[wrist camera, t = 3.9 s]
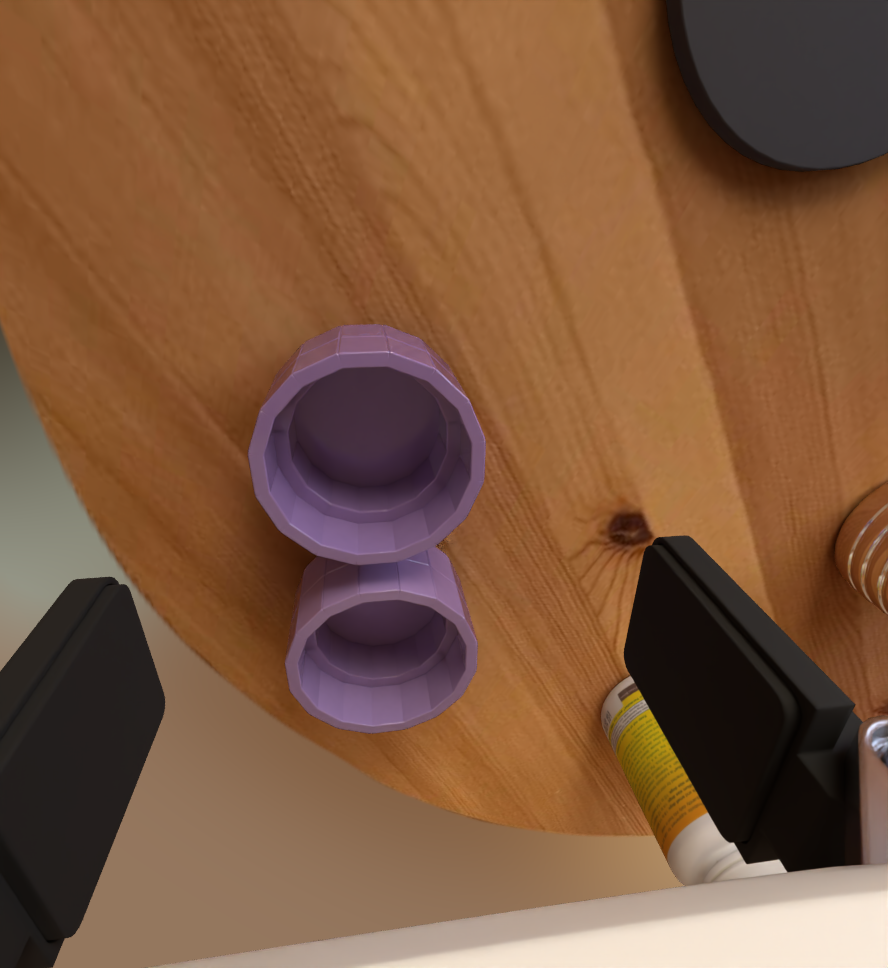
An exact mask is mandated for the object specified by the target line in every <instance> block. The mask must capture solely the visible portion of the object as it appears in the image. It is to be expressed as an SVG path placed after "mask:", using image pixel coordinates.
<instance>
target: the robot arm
mask: <svg viewBox="0 0 888 968" xmlns="http://www.w3.org/2000/svg"><path fill="white" fill-rule="evenodd" d="M624 660H625V664H626V667H627V670H628V672H629V673H630V675H631V677H632V679H633V681H634V682H635V684H636V686H637V688H638V689H639V691H640V693H641V695H642V697H643V698H644V700H645V702H646V704H647V705H648V707H649V709H650V711H651V712H652V714H653V716H654V718H655V720H656V721H657V723H658V725H659V727H660V728H661V730H662V732H663V734H664V735H665V737H666V739H667V741H668V743H669V744H670V746H671V748H672V750H673V751H674V753H675V755H676V757H677V759H678V760H679V762H680V764H681V766H682V767H683V769H684V771H685V773H686V774H687V776H688V778H689V780H690V782H691V783H692V785H693V787H694V789H695V790H696V792H697V794H698V796H699V797H700V799H701V801H702V803H703V805H704V806H705V808H706V810H707V812H708V813H709V815H710V817H711V819H712V821H713V822H714V824H715V826H716V828H717V829H718V831H719V833H720V834H721V836H722V837H723V838H724V839H725V840H726V841H727V842H729V843H734V844H735V846H736V847H737V849H738V851H739V853H740V854H741V856H742V858H743V860H744V861H745V863H746V864H753V863H760V862H766V861H773V860H778V859H779V860H780V862H781V863H782V865H783V866H784V868H785V870H786V871H787V873H779V874H771V875H763V876H755V877H747V878H739V879H730V880H723V881H716V882H709V883H702V884H696V885H689V886H682V887H675V888H669V889H661V890H654V891H647V892H640V893H634V894H627V895H620V896H613V897H606V898H599V899H592V900H586V901H578V902H572V903H565V904H558V905H551V906H545V907H538V908H531V909H525V910H518V911H511V912H505V913H498V914H491V915H484V916H478V917H471V918H464V919H458V920H451V921H444V922H438V923H431V924H425V925H418V926H411V927H405V928H398V929H392V930H385V931H379V932H372V933H366V934H359V935H353V936H346V937H339V938H332V939H326V940H320V941H313V942H307V943H300V944H294V945H287V946H281V947H275V948H268V949H262V950H255V951H249V952H243V953H236V954H230V955H223V956H217V957H211V958H205V959H199V960H192V961H185V962H179V963H173V964H166V965H160V966H153V967H147V968H888V716H877V717H872V718H868V719H867V720H866V721H865V722H862V721H861V720H860V719H859V718H858V717H857V716H856V714H855V713H854V712H853V709H854V707H855V704H854V703H853V702H852V701H851V700H850V699H849V698H848V697H847V696H846V695H845V694H844V693H843V691H842V690H841V689H840V688H839V687H838V686H837V685H836V684H835V683H834V682H833V681H832V680H831V679H830V678H829V677H828V676H827V675H826V674H825V673H824V672H823V671H822V670H821V669H820V668H819V667H818V666H817V665H816V664H815V663H814V662H813V661H812V660H811V659H810V658H809V657H808V656H807V655H806V654H805V653H804V652H803V651H802V650H801V649H800V648H799V647H798V646H797V645H796V644H795V643H794V642H793V641H792V640H791V639H790V637H789V636H788V635H787V634H786V633H785V632H784V631H783V630H782V629H781V628H780V627H779V626H778V625H777V624H776V623H775V622H774V621H773V620H772V619H771V618H770V617H769V616H768V615H767V614H766V613H765V612H764V611H763V610H762V609H761V608H760V607H759V606H758V605H757V604H756V603H755V602H754V601H753V600H752V599H751V598H750V597H749V596H748V595H747V594H746V593H745V592H744V591H743V590H742V589H741V588H740V587H739V586H738V585H737V584H736V582H735V581H734V580H733V579H732V578H731V577H730V576H729V575H728V574H727V573H726V572H725V571H724V570H723V569H722V568H721V567H720V566H719V565H718V564H717V563H716V562H715V561H714V560H713V559H712V558H711V557H710V556H709V555H708V554H707V553H706V552H705V551H704V550H703V549H702V548H701V547H700V546H699V545H698V544H697V543H696V542H695V541H694V540H693V539H692V538H691V537H689V536H671V537H659V538H656V539H655V540H654V542H653V544H652V545H651V546H648V547H647V548H646V549H645V551H644V555H643V560H642V565H641V570H640V575H639V580H638V585H637V589H636V594H635V599H634V604H633V609H632V614H631V619H630V623H629V628H628V633H627V638H626V643H625V648H624ZM164 709H165V696H164V692H163V689H162V686H161V683H160V680H159V678H158V675H157V671H156V668H155V665H154V662H153V659H152V656H151V653H150V650H149V647H148V644H147V641H146V638H145V635H144V632H143V628H142V625H141V622H140V619H139V616H138V614H137V610H136V607H135V604H134V601H133V598H132V595H131V592H130V590H129V588H128V587H127V585H124V584H121V585H119V583H118V581H117V580H116V579H115V578H113V577H100V578H87V579H76V580H73V581H72V582H71V583H70V584H68V586H67V587H66V588H65V590H64V591H63V592H62V593H61V595H60V596H59V597H58V598H57V600H56V601H55V602H54V604H53V605H52V606H51V607H50V609H49V610H48V611H47V613H46V614H45V615H44V616H43V618H42V619H41V620H40V622H39V623H38V624H37V625H36V627H35V628H34V629H33V630H32V632H31V633H30V634H29V636H28V637H27V638H26V639H25V641H24V642H23V643H22V645H21V646H20V647H19V648H18V650H17V651H16V652H15V653H14V655H13V656H12V657H11V659H10V660H9V661H8V662H7V664H6V665H5V666H4V668H3V669H2V670H1V671H0V968H51V967H53V965H54V963H55V961H56V958H57V956H58V953H59V951H60V948H61V946H62V943H63V941H64V939H65V938H69V937H71V936H73V935H74V934H75V933H76V931H77V930H78V928H79V926H80V924H81V922H82V920H83V917H84V915H85V913H86V910H87V908H88V905H89V902H90V900H91V897H92V895H93V892H94V890H95V887H96V885H97V882H98V880H99V877H100V875H101V872H102V870H103V867H104V865H105V862H106V860H107V857H108V854H109V852H110V849H111V847H112V844H113V842H114V839H115V837H116V834H117V832H118V829H119V827H120V824H121V822H122V819H123V817H124V814H125V811H126V809H127V806H128V804H129V801H130V799H131V796H132V794H133V791H134V789H135V786H136V784H137V781H138V778H139V776H140V773H141V771H142V768H143V766H144V763H145V761H146V758H147V756H148V753H149V751H150V748H151V746H152V743H153V741H154V738H155V736H156V733H157V731H158V728H159V725H160V723H161V720H162V718H163V715H164Z"/></svg>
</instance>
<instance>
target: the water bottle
mask: <svg viewBox="0 0 888 968" xmlns="http://www.w3.org/2000/svg"><path fill="white" fill-rule="evenodd" d="M834 556H835V563H836V566H837V569H838V571H839V573H840V574H841V576H842V577H843V578H844V580H845V581H846V582H847V583H848V584H849V585H850V586H851V587H852V588H853V589H854V590H856V591H857V592H858V593H859V594H860V595H862V596H863V597H864V598H865V599H866V600H867V601H869V602H870V603H872V604H873V605H875V606H876V607H877V608H878V609H879V610H880V611H882V612H883V613H885V614H886V615H887V616H888V483H886V484H884V485H882V486H881V487H879V488H878V489H876V490H875V491H873V492H872V493H871V494H869V495H868V496H867V497H866V498H865V499H864V500H862V501H861V502H860V503H859V504H858V505H857V506H856V508H855V509H854V510H853V511H852V512H851V514H850V515H849V516H848V518H847V519H846V521H845V522H844V524H843V526H842V528H841V530H840V532H839V534H838V537H837V540H836V544H835V552H834Z"/></svg>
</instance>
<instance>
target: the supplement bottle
mask: <svg viewBox="0 0 888 968" xmlns="http://www.w3.org/2000/svg"><path fill="white" fill-rule="evenodd" d="M601 722H602V727H603V729H604V732H605V734H606V736H607V738H608V740H609V742H610V744H611V746H612V749H613V751H614V753H615V755H616V757H617V759H618V761H619V763H620V765H621V767H622V769H623V771H624V773H625V776H626V778H627V780H628V782H629V784H630V786H631V788H632V790H633V792H634V794H635V796H636V798H637V800H638V803H639V805H640V807H641V809H642V811H643V813H644V815H645V817H646V819H647V821H648V823H649V825H650V827H651V829H652V831H653V833H654V835H655V838H656V840H657V841H658V844H659V846H660V847H661V850H662V852H663V854H664V856H665V858H666V860H667V862H668V864H669V866H670V868H671V870H672V872H673V874H674V875H675V877H676V878H677V879H678V880H679V881H680V882H681V883H682V884H683V885H685V886H689V885H696V884H702V883H709V882H716V881H723V880H730V879H739V878H747V877H755V876H763V875H771V874H779V873H787V871H786V870H785V868H784V866H783V865H782V863H781V862H780V860H779V859H778V860H773V861H766V862H760V863H753V864H746V863H745V861H744V860H743V858H742V856H741V854H740V853H739V851H738V849H737V847H736V846H735V844H734V843H729V842H727V841H726V840H725V839H724V838H723V837H722V836H721V834H720V833H719V831H718V829H717V828H716V826H715V824H714V822H713V821H712V819H711V817H710V815H709V813H708V812H707V810H706V808H705V806H704V805H703V803H702V801H701V799H700V797H699V796H698V794H697V792H696V790H695V789H694V787H693V785H692V783H691V782H690V780H689V778H688V776H687V774H686V773H685V771H684V769H683V767H682V766H681V764H680V762H679V760H678V759H677V757H676V755H675V753H674V751H673V750H672V748H671V746H670V744H669V743H668V741H667V739H666V737H665V735H664V734H663V732H662V730H661V728H660V727H659V725H658V723H657V721H656V720H655V718H654V716H653V714H652V712H651V711H650V709H649V707H648V705H647V704H646V702H645V700H644V698H643V697H642V695H641V693H640V691H639V689H638V688H637V686H636V684H635V682H634V681H633V679H632V677H631V676H629V677H628V678H626V679H624V680H623V681H622V682H620V683H619V684H618V685H617V686H615V687H614V689H613V690H612V691H611V692H610V693H609V695H608V696H607V698H606V700H605V702H604V704H603V707H602V711H601Z"/></svg>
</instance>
